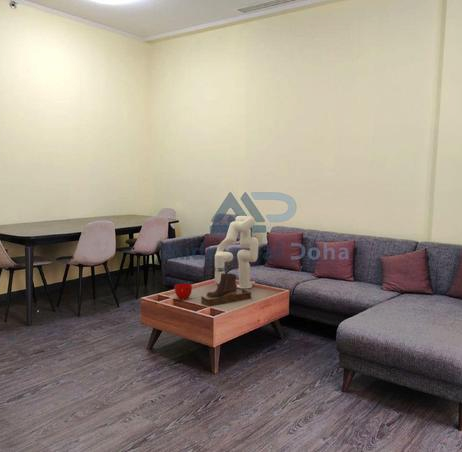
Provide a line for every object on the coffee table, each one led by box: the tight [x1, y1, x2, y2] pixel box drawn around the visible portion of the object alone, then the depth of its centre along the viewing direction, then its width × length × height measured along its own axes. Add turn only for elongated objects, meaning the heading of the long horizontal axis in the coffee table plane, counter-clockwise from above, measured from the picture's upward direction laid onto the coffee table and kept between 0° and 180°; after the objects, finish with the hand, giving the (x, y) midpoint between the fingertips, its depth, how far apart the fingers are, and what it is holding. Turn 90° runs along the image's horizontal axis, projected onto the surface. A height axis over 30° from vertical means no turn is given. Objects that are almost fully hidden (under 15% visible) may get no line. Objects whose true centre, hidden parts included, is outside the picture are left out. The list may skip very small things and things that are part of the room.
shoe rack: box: [200, 289, 252, 307], centre depth 339 cm, size 37×11×5 cm, turn 124°
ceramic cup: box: [174, 283, 193, 301], centre depth 343 cm, size 13×17×10 cm
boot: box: [206, 272, 238, 299], centre depth 342 cm, size 9×24×20 cm, turn 76°
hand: (220, 292), depth 352 cm, fingers closed
